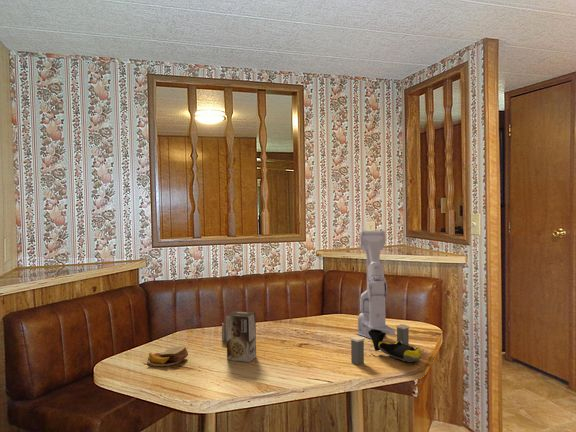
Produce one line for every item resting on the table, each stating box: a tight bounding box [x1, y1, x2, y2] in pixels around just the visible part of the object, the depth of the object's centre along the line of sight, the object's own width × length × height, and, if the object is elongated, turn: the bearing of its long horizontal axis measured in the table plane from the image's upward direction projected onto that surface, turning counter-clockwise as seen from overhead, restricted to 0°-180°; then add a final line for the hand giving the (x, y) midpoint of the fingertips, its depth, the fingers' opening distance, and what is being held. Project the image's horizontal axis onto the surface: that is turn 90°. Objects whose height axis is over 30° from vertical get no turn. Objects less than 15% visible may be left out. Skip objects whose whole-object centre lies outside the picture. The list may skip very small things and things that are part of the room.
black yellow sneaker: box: [378, 340, 422, 363], centre depth 152 cm, size 15×6×10 cm
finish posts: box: [350, 323, 410, 366], centre depth 156 cm, size 3×27×9 cm, turn 126°
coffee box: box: [225, 310, 257, 363], centre depth 155 cm, size 9×6×16 cm
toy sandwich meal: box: [147, 345, 189, 367], centre depth 153 cm, size 12×14×5 cm
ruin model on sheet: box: [221, 322, 227, 343], centre depth 177 cm, size 11×3×10 cm, turn 115°
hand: (377, 350), depth 157 cm, fingers closed
